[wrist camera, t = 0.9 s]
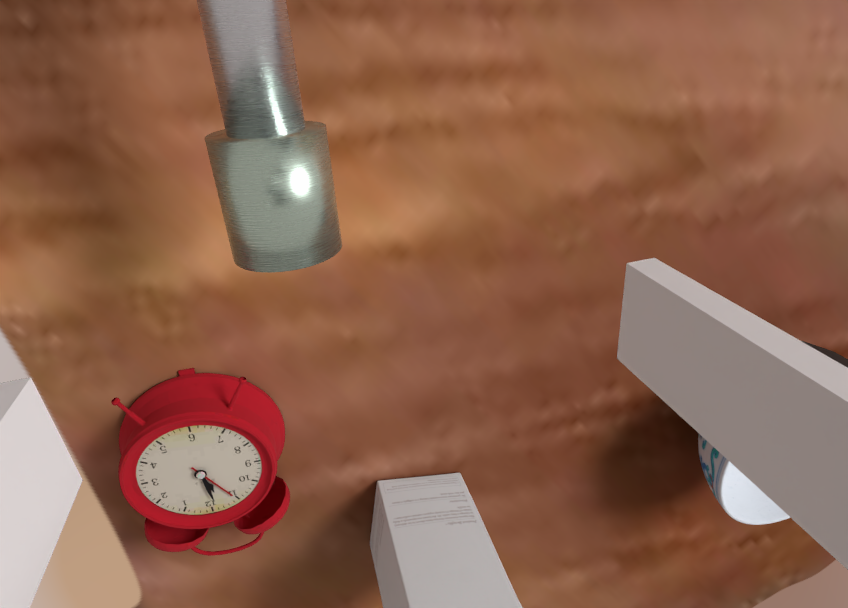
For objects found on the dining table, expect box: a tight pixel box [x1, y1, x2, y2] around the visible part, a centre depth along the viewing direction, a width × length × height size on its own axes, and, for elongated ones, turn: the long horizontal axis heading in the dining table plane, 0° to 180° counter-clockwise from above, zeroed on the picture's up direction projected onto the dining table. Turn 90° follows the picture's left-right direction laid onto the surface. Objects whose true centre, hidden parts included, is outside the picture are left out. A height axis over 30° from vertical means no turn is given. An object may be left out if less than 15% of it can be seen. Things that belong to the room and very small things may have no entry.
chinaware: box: [698, 434, 790, 525], centre depth 46 cm, size 15×15×8 cm
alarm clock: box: [111, 368, 290, 555], centre depth 36 cm, size 10×6×15 cm
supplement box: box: [370, 473, 522, 608], centre depth 40 cm, size 7×7×13 cm
